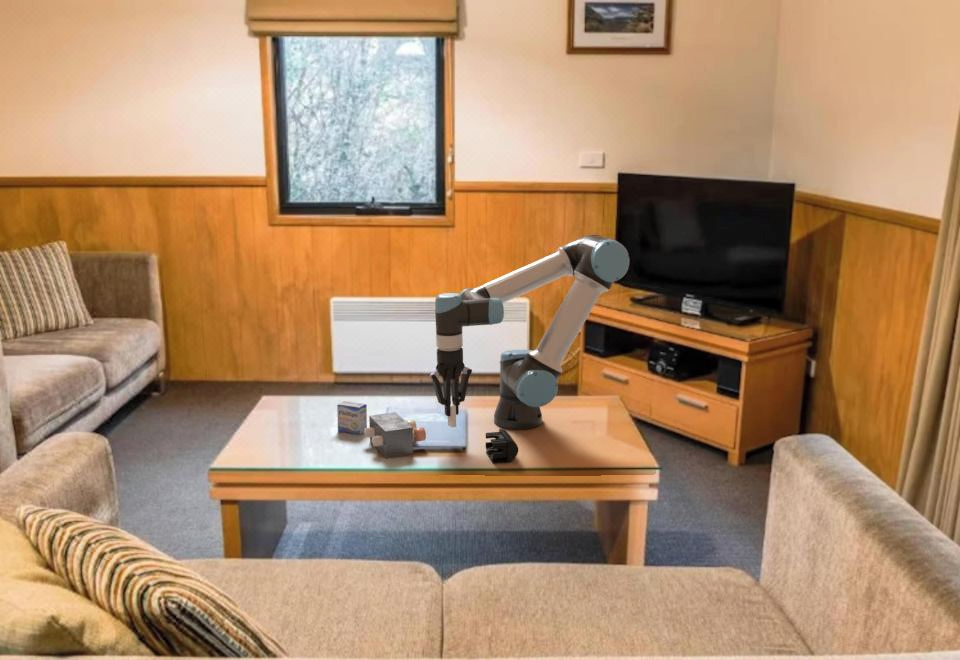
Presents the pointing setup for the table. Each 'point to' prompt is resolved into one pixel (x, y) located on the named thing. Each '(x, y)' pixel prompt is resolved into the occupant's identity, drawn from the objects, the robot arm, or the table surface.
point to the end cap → (501, 447)
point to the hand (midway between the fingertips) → (452, 425)
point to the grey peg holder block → (392, 434)
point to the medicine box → (352, 417)
